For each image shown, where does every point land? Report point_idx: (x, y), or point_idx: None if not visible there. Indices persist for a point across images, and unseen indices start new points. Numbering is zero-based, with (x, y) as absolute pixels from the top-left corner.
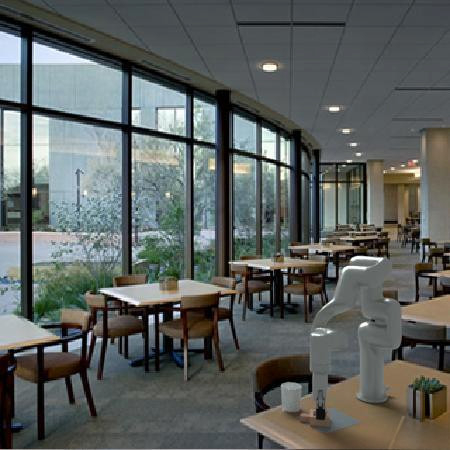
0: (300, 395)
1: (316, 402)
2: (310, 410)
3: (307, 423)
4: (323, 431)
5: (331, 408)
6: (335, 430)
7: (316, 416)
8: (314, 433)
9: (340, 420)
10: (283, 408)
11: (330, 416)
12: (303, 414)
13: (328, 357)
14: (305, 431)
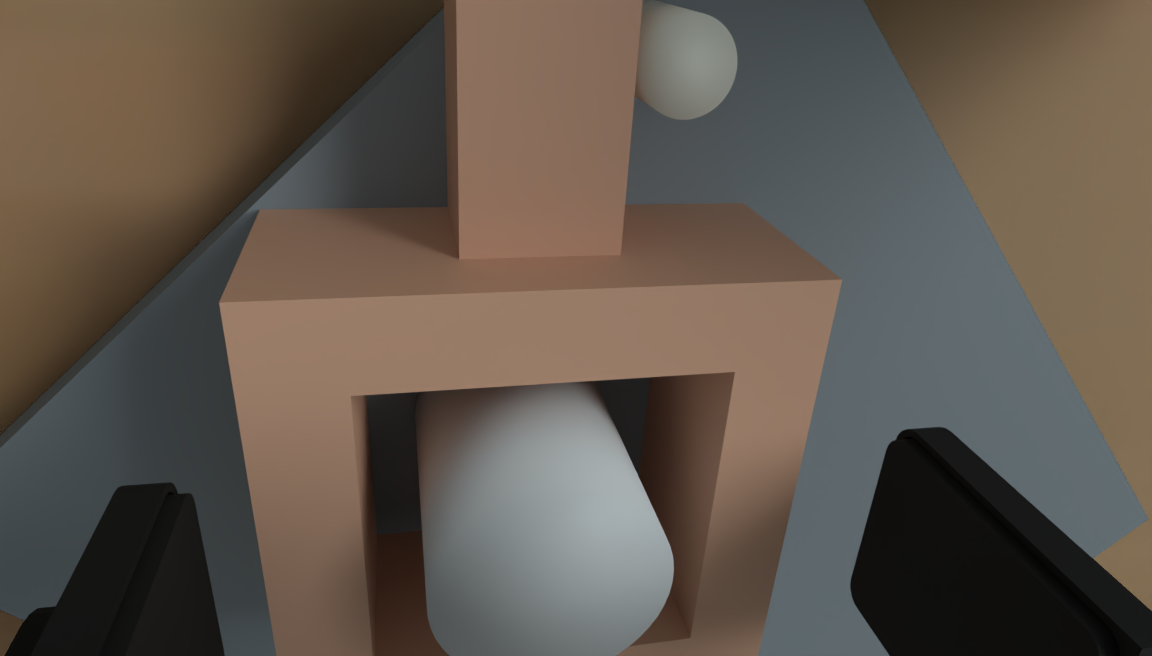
0: None
1: (1007, 528)
2: (740, 291)
3: (355, 148)
4: (11, 517)
5: (1104, 532)
6: None
7: (91, 554)
8: (33, 298)
9: None
10: None
11: (790, 554)
12: (590, 55)
13: None
14: (52, 83)
